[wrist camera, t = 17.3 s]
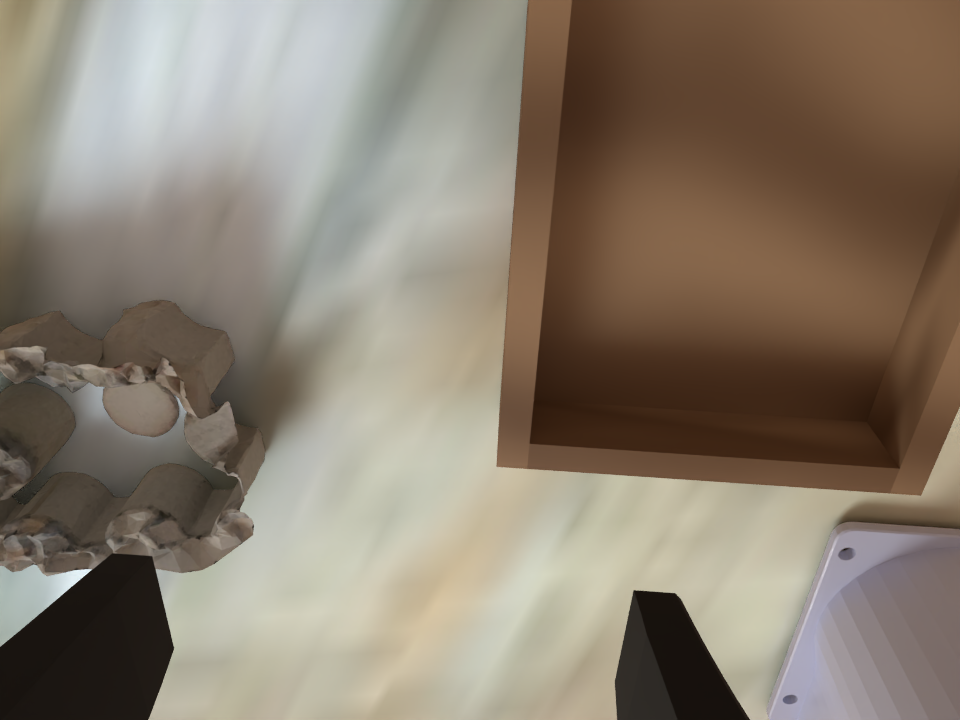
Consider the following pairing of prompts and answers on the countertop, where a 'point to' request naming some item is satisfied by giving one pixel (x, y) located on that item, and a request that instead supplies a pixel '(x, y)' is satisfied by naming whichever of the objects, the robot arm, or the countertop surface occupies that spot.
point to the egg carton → (140, 410)
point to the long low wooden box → (736, 242)
